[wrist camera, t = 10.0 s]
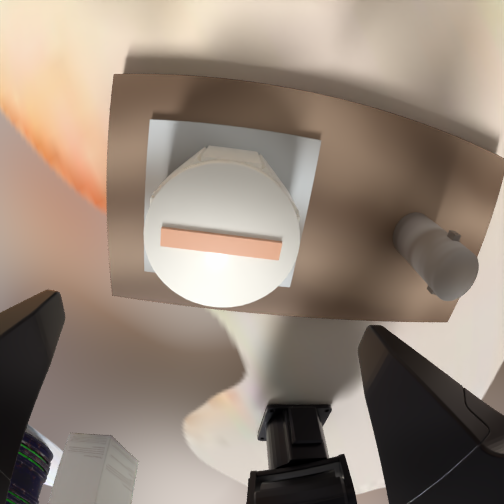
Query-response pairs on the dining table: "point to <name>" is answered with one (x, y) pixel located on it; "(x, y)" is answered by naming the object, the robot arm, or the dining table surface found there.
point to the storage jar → (29, 471)
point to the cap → (222, 228)
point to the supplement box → (94, 472)
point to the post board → (310, 194)
